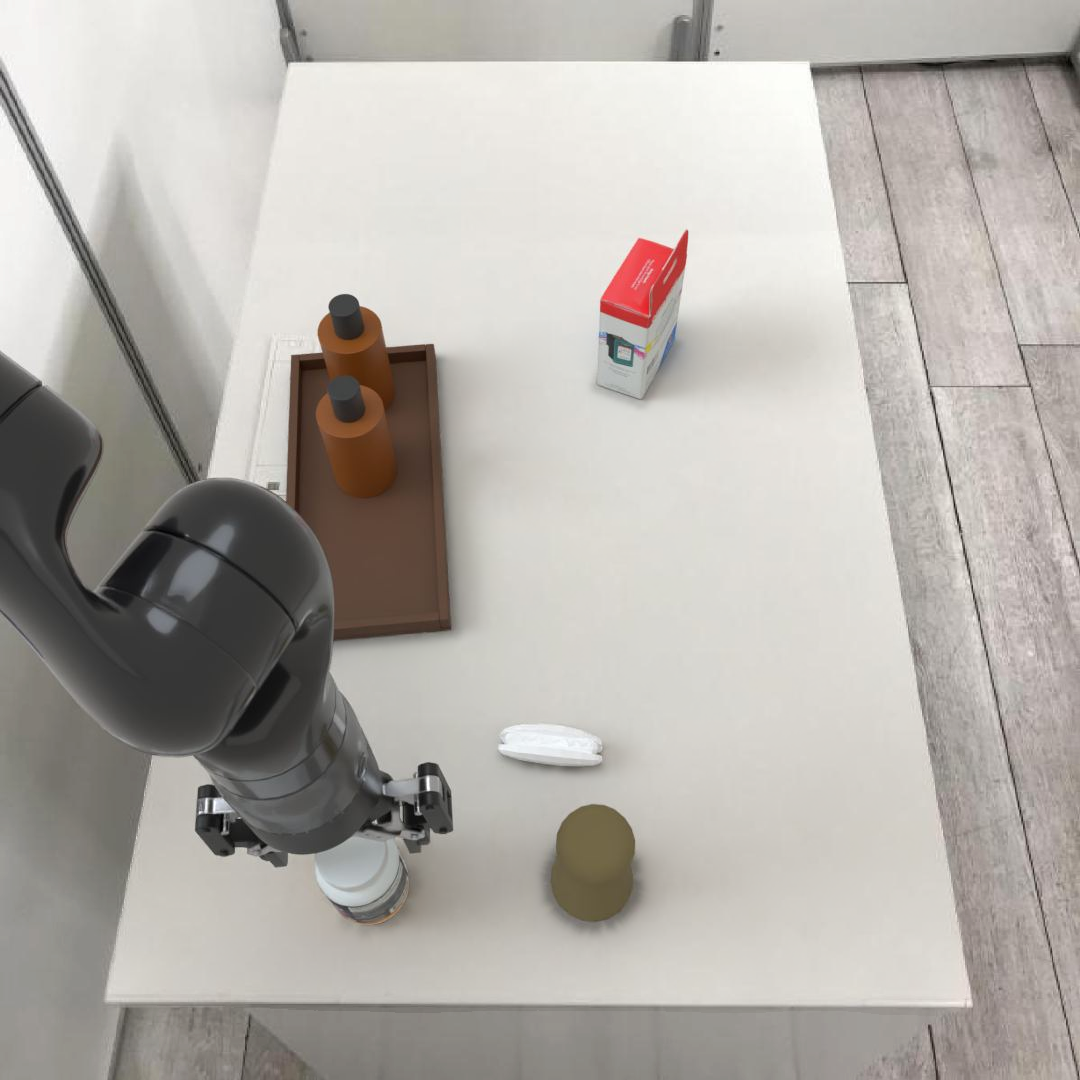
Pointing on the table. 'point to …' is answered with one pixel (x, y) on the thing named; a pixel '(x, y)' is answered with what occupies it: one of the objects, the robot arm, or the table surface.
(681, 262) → the ink box
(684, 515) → the table surface
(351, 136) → the table surface
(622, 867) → the cork
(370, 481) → the amber bottle near
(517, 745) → the sub sandwich
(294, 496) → the tray
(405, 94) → the table surface
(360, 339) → the amber bottle far
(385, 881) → the pill bottle
